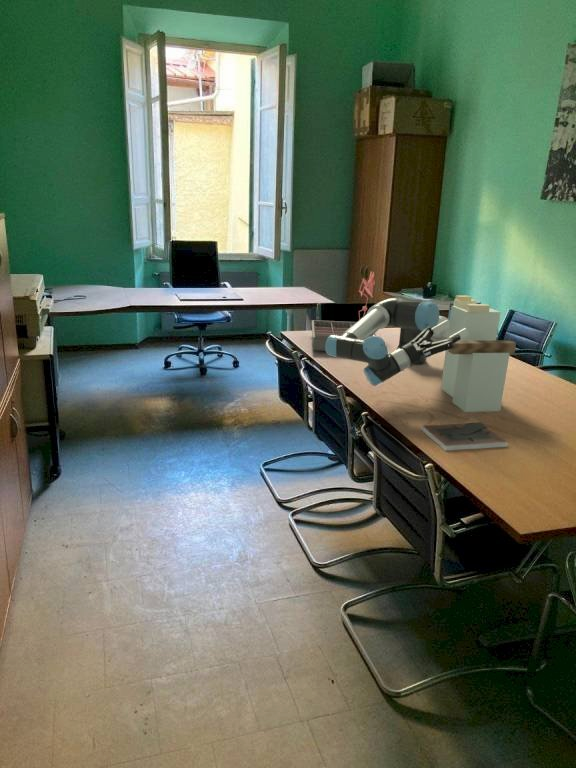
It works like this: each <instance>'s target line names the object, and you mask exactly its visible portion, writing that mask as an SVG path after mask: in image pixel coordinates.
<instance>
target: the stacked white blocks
mask: <svg viewBox="0 0 576 768" xmlns="http://www.w3.org/2000/svg"><path fill="white" fill-rule="evenodd" d="M453 303H454V305H453V306H452V307H451V314H450V322H449V324H450V327H449V329H448V337H447V339H449V337H450V336H452V335H453V334H455V333H457V332H459V331H460V330H462V329H464V328H466V329H467V332H468V334H469V335H468V336H466V337H464V338H463V339H461V340H459V341H495V340H497V336H498V331H499V324H500V319H501V311H499V310H496V309H494V308H491V305H489V304H487V303H481V304H476V303H477V300H476V299H473V298H472V296H470V295H464V294H463V295H459V294H458V295H457V294H456V295H455V298H454V300H453ZM444 352H445V354H444V362H443V368H442V370H443V371H442V374H441V375H442V376H441V383H440V388H441V390H442V391H444V392H445V393H446V394H448V395H449V396H451V397H452V398H453V396H454V389H455V382H456V374H457V367H458V360H459V354H452V353H450V352H448V350H446V351H444Z"/></svg>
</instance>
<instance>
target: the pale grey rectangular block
mask: <svg viewBox="0 0 576 768" xmlns="http://www.w3.org/2000/svg"><path fill="white" fill-rule="evenodd" d="M510 355H511V354H510V353H472V354H459V360H458V367H457V374H456V382H455V389H454V396H453V397H452V404H454V405H455V406H456V407H458V408H459V409H460V410H462V411H463V412H464V413H477V412H480V413H481V412H500V411H501V406H502V402H503V401H502V400H503V395H504V391H505V390H504V389H505V383H506V377H507V372H508V365H509V359H510Z"/></svg>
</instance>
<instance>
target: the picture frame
mask: <svg viewBox="0 0 576 768" xmlns="http://www.w3.org/2000/svg"><path fill="white" fill-rule="evenodd" d="M421 431H422V432H423V433H425V434H426V435H427V436H428V437H429V438H430V439H431V440H433V441H434V442H435V443H436V444H437V445H438V446H439V447H441V448H442V450H444V451H459V450H460V451H461V450H474V449H487V448H488V449H489V448H505V447H508V445H509V441H507V440H506V439H504V438H503V437H502V436H500V435H499V434H498V433H496V432H494V431H493V430H492V429H490V428H489V427H488V426H487V425H486V424H484V423H483V422H481V421H473V422H472V421H471V422H463V423H446V424H445V423H442V424H427V425H426V424H425V425H421Z"/></svg>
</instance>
